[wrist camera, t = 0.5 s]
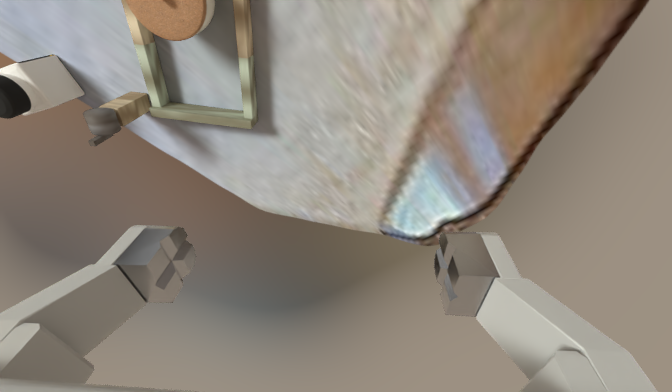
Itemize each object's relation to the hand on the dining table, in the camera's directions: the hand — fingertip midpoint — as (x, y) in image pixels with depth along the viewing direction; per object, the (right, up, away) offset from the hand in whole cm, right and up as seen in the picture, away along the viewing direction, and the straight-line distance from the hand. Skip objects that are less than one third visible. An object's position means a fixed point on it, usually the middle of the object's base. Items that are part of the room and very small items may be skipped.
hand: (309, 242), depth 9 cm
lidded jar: (-21, +32, +34) cm, 51 cm away
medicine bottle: (-50, +23, +43) cm, 70 cm away
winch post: (-36, +19, +44) cm, 60 cm away
